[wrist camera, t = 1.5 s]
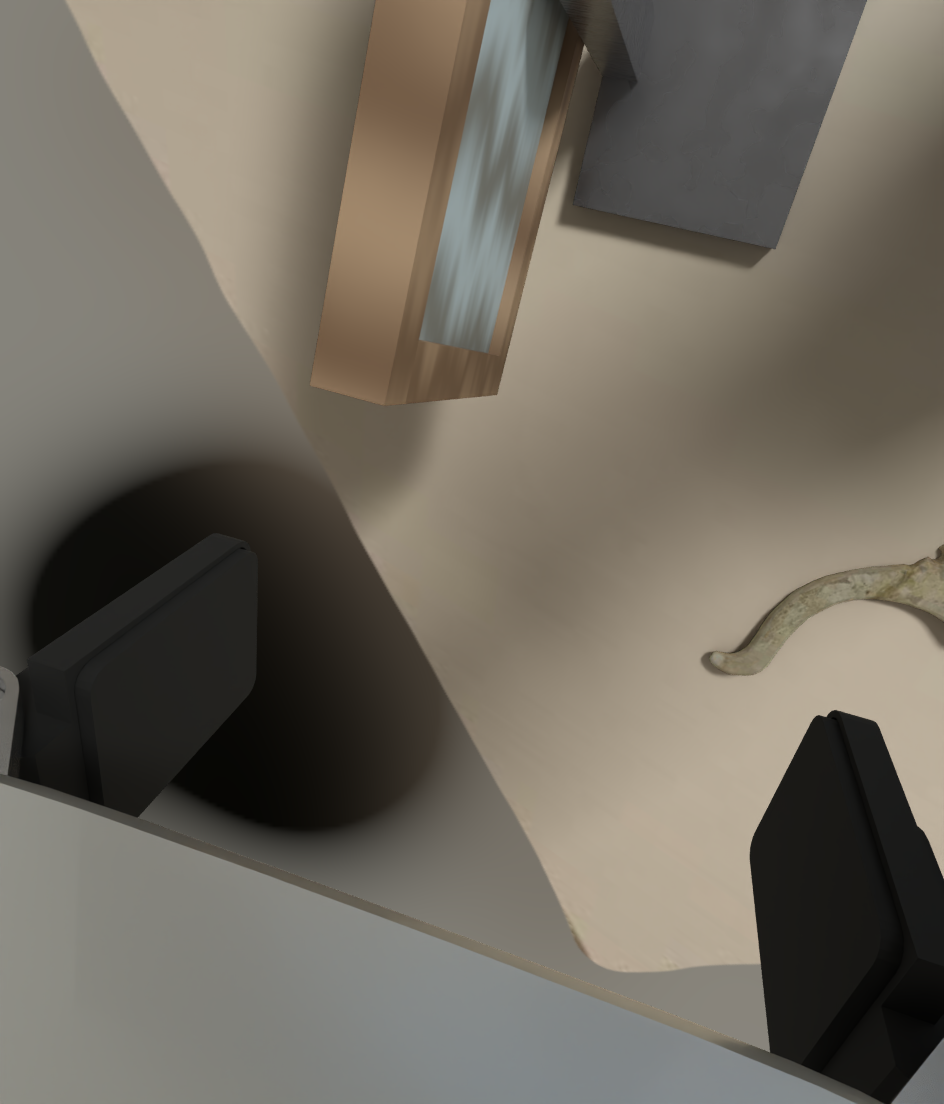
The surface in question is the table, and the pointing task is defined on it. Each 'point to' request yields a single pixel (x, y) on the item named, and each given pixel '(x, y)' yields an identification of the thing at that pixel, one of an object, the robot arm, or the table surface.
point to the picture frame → (443, 196)
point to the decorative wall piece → (919, 585)
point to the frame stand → (708, 107)
